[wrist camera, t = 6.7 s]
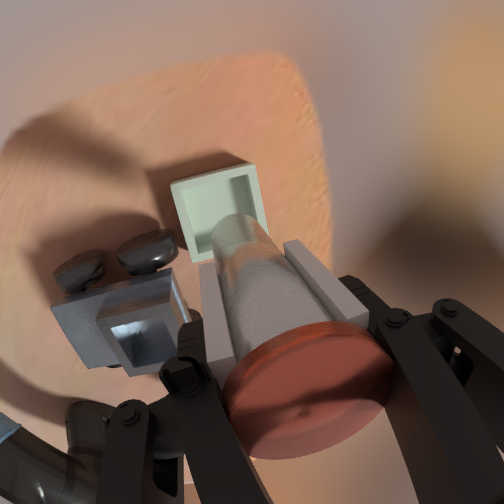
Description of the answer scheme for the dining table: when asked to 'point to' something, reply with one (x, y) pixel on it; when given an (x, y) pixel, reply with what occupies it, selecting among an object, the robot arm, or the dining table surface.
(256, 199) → the tray
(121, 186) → the dining table surface
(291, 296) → the pin
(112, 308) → the trolley
